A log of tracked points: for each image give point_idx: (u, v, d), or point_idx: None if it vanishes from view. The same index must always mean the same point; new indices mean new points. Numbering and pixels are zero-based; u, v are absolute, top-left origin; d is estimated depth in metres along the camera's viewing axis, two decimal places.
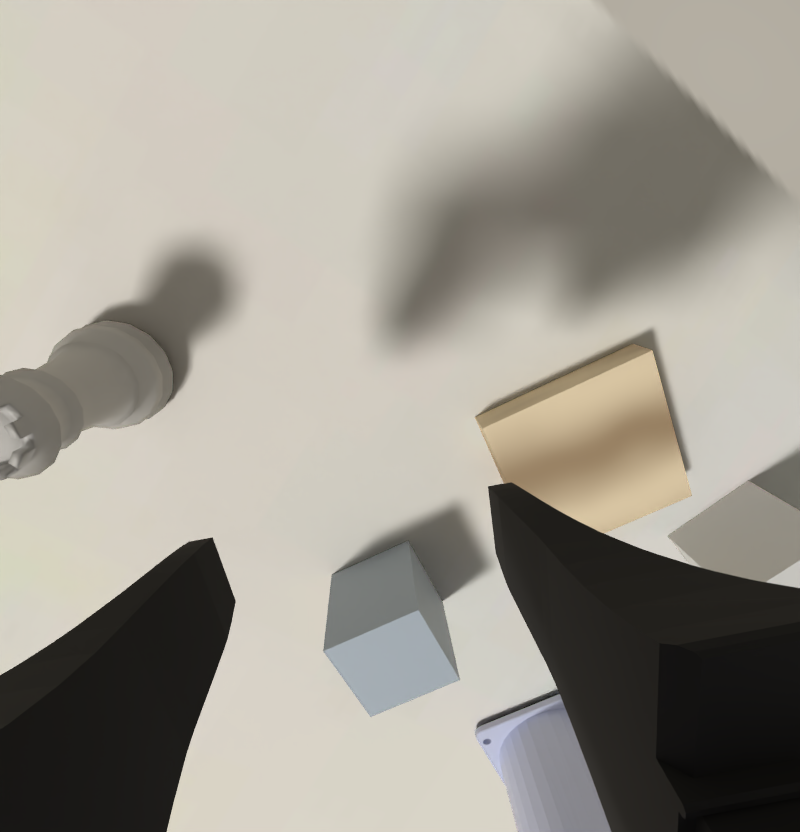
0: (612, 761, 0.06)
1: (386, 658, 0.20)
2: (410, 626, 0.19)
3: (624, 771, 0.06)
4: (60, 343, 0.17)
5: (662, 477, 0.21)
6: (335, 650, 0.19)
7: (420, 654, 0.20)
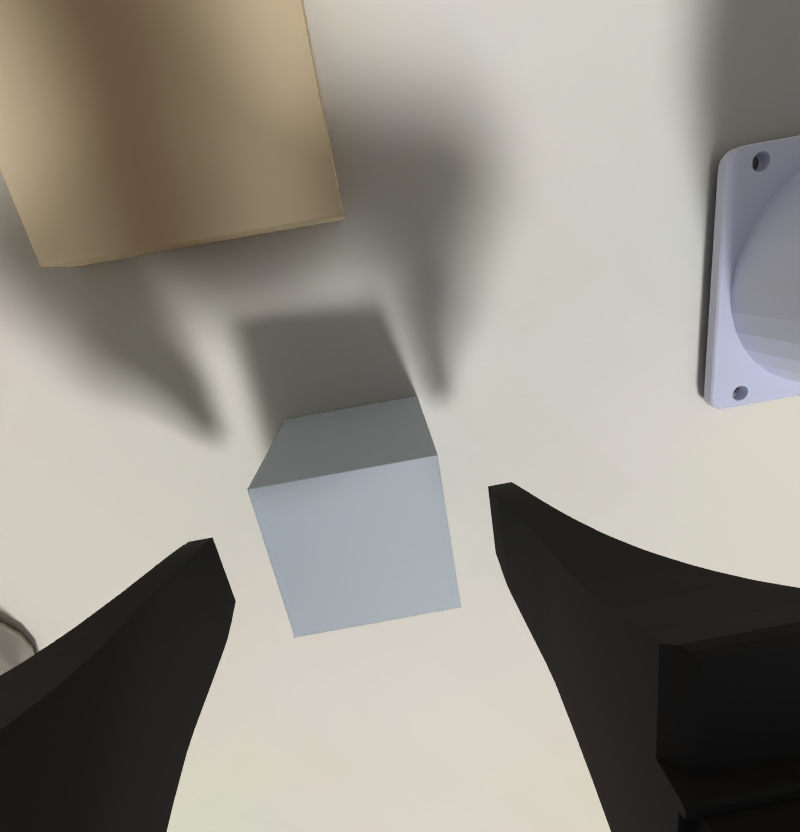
0: (612, 761, 0.06)
1: (341, 559, 0.11)
2: (281, 509, 0.11)
3: (624, 771, 0.06)
4: None
5: None
6: (299, 622, 0.12)
7: (350, 507, 0.11)
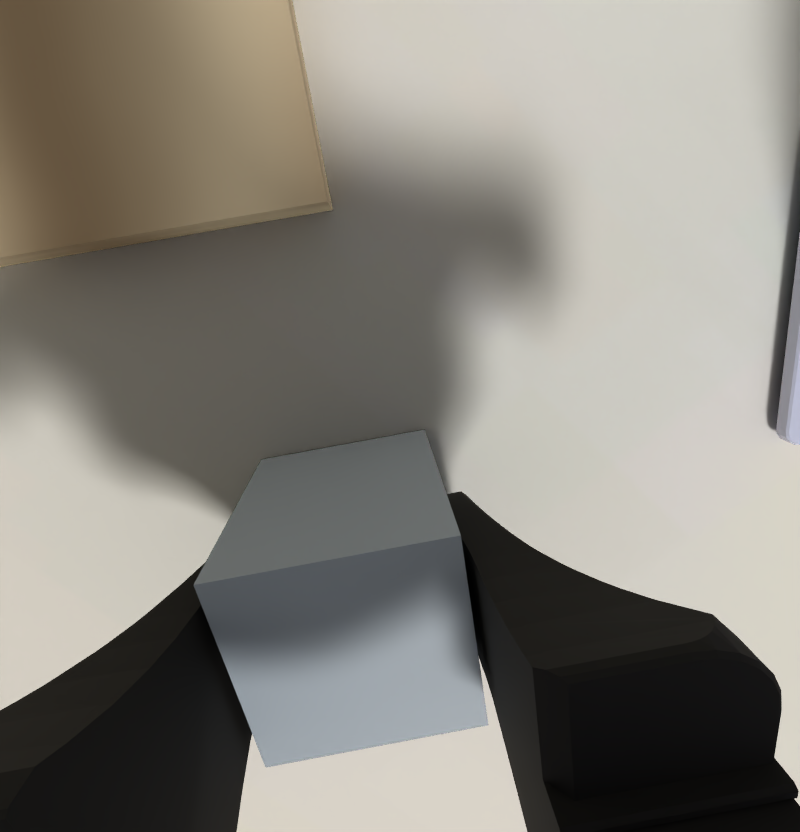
0: (524, 778, 0.06)
1: (327, 670, 0.08)
2: (242, 609, 0.08)
3: (530, 789, 0.06)
4: None
5: None
6: (271, 748, 0.09)
7: (339, 605, 0.08)
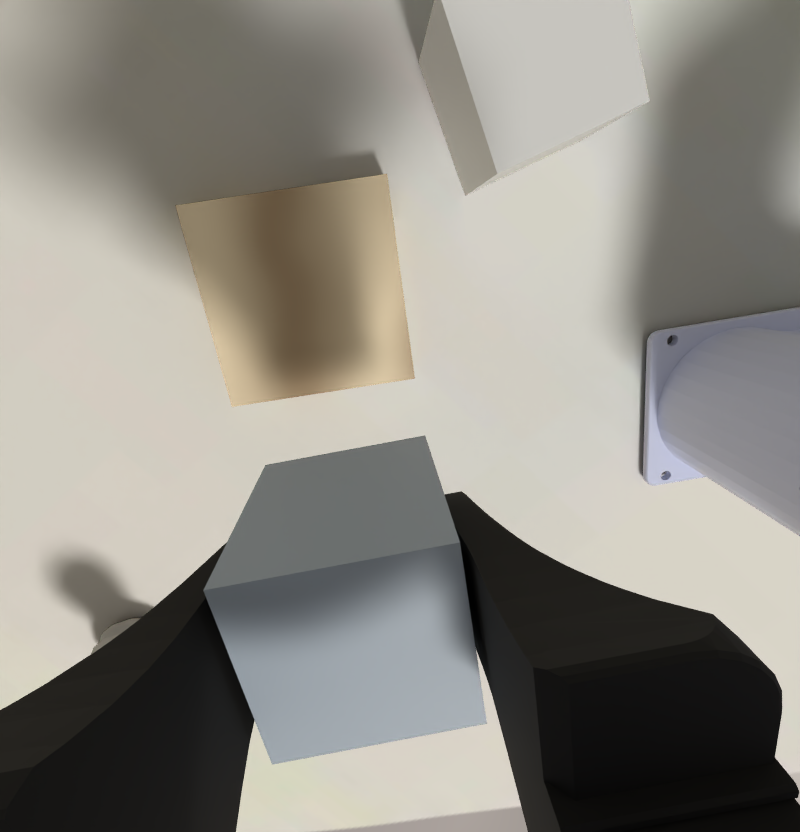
0: (525, 778, 0.06)
1: (332, 671, 0.09)
2: (250, 613, 0.08)
3: (531, 789, 0.06)
4: None
5: (347, 211, 0.17)
6: (277, 746, 0.09)
7: (343, 609, 0.08)
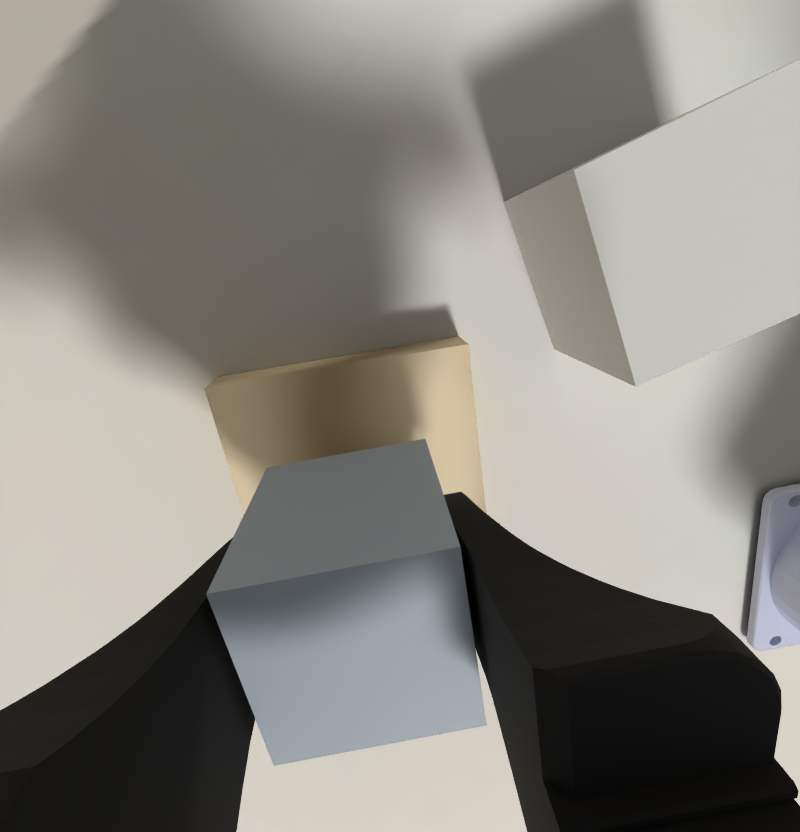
0: (524, 778, 0.06)
1: (333, 674, 0.09)
2: (252, 617, 0.08)
3: (530, 789, 0.06)
4: None
5: (418, 387, 0.14)
6: (279, 748, 0.09)
7: (344, 612, 0.08)
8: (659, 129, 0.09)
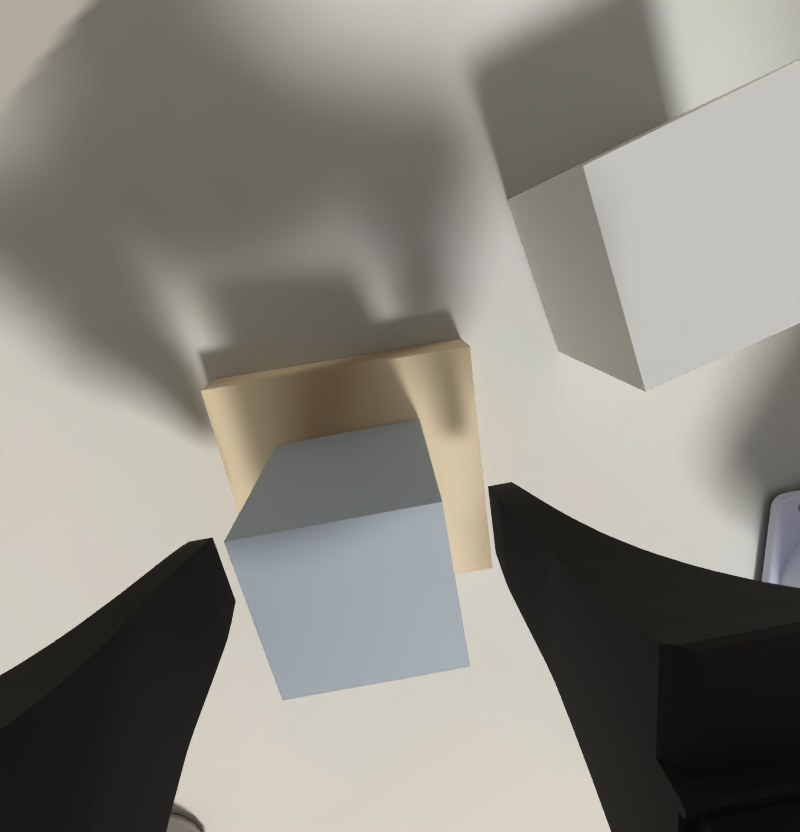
0: (612, 761, 0.06)
1: (334, 616, 0.10)
2: (263, 563, 0.09)
3: (624, 771, 0.06)
4: None
5: (418, 390, 0.14)
6: (287, 684, 0.10)
7: (342, 560, 0.09)
8: (672, 123, 0.09)
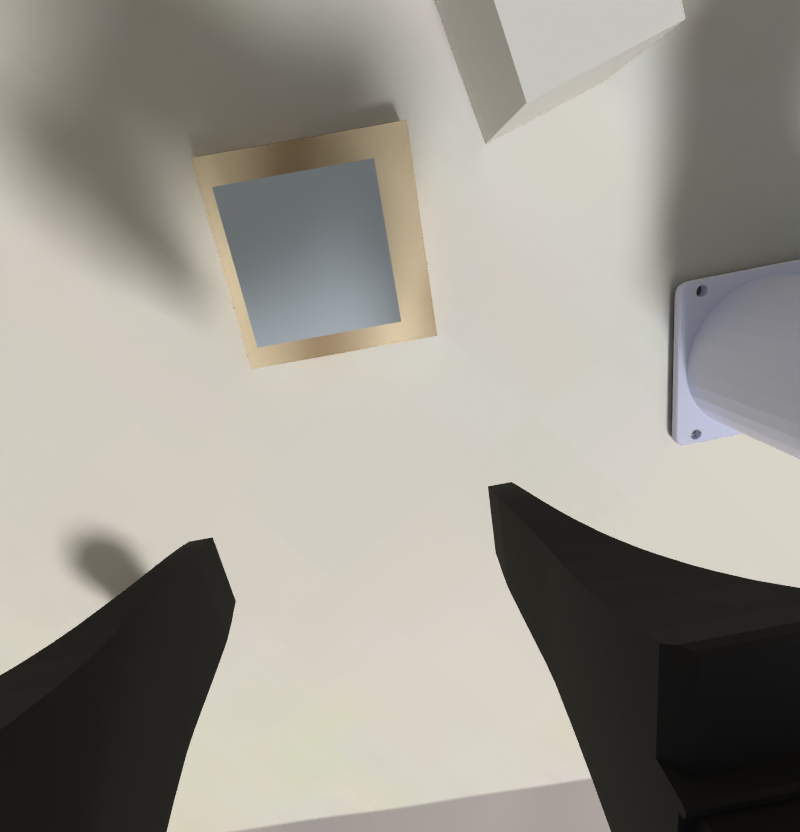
0: (612, 761, 0.06)
1: (295, 265, 0.13)
2: (241, 209, 0.12)
3: (624, 771, 0.06)
4: None
5: None
6: (260, 331, 0.14)
7: (301, 209, 0.13)
8: None
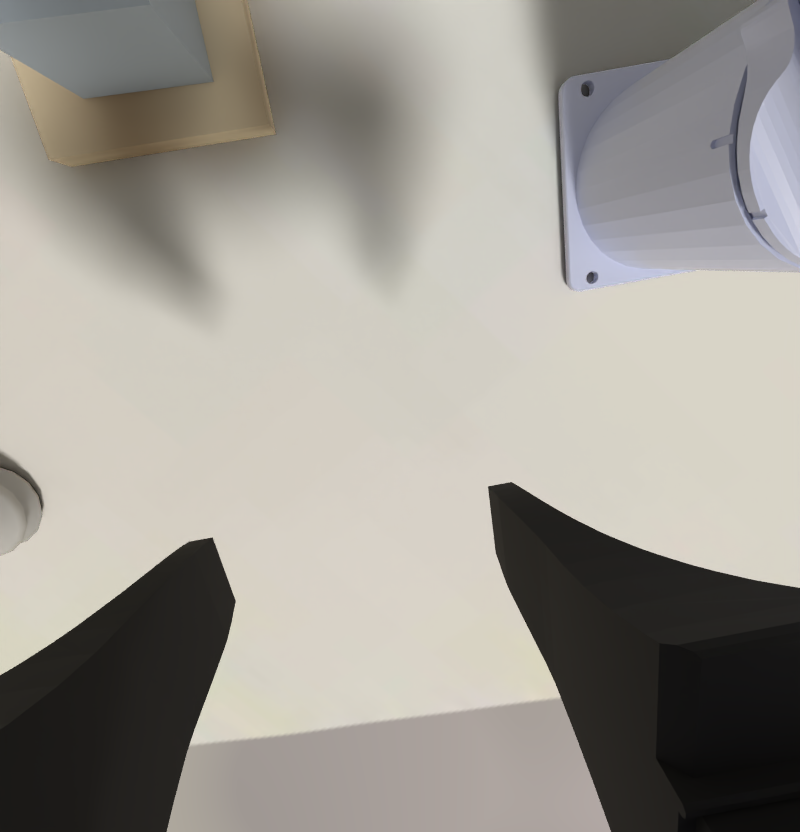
0: (612, 761, 0.06)
1: None
2: None
3: (624, 771, 0.06)
4: None
5: None
6: None
7: None
8: None
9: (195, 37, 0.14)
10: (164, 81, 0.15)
